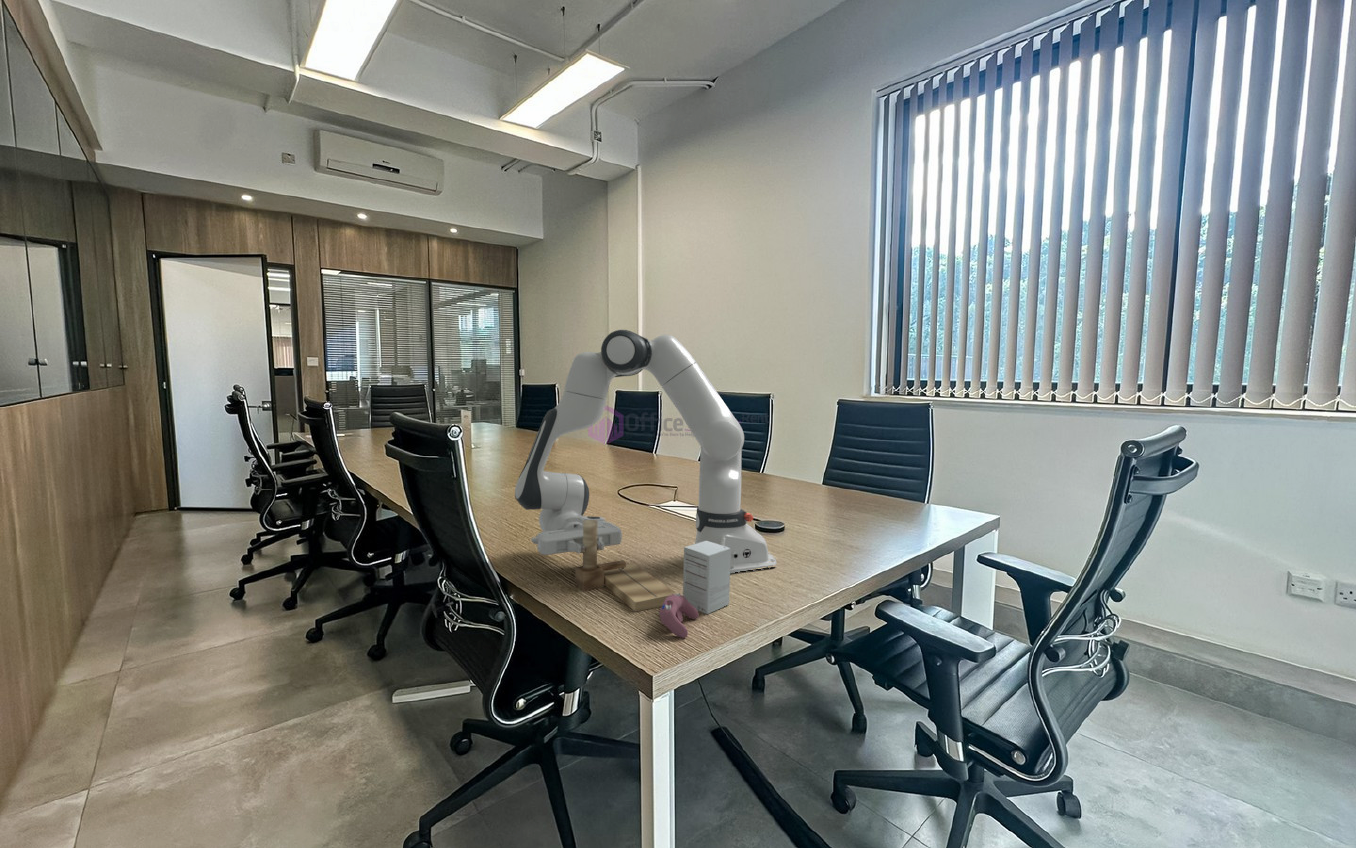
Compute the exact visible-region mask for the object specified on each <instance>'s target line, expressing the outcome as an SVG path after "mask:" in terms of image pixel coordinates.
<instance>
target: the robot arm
mask: <svg viewBox="0 0 1356 848" xmlns="http://www.w3.org/2000/svg"><path fill="white" fill-rule="evenodd" d="M643 370H645V371H648V372H650V374H651V375H652V376H653V377H654V378H655V379H656V381H657V382H658V384H659V385H660V387H661V388H662V389H663V391H664V393H666V395H667V397H668V398H669V399H670V401H671V403H672V404H673V405H674V407H675V408H676V410H677V412H678V413H679V414H680V416H681V417H682V419H683V420H684V422H685V424H686V425H687V427H688V429H689V430H690V432H691V433H692V435H693V436H694V438H695V440H696V441H697V443H698V444H699V446H700V454H699V460H700V461H699V477H698V479H699V480H698V481H699V482H698V507H697V508H696V513H695V528H696V535H695V542H694V544H697V543H700V542H703V541H709V542H712V543H716V544H719V545H722V546H726V547H728V548H731V557H730V574H735V572H738V573H741V572H740V571H746V570H751V569H756V568H762V567H768V566H773V565H776V564H777V560H776V557H774V556H773V555H772V553H770V552H769V551H768V550H769V549H768V544H767V540H766V539H765V538H764V536H762V535H761V534H760V533H759V532H758V531H756V529H754V528H753V527H751V526H750V525H749V524H748V523H751V522H752V521H753V520H754V515H753V514H751V513H750V512H747V511H746V510H744V509H742V508H741V506H742V505H741V504H742V503H741V502H742V501H741V500H742V452H743V451H742V450H743V446H744V443H745V434H744V431H743V428H742V426H741V424H740V423H739V420H737V418H735V416H734V414H733V413H732V412H731V410H730V409H729V407H728V406H727V404H726V403H725V402H724V400H723V399H722V397H721V396H720V394H719V392H718V391H717V390H716V388H715V387H714V385H713V384H712V383H711V381H710V379H709V378H708V376H707V375H706V373H704V371H703V370H702V368H701V366H700V365H699V364H698V362H697V361H696V360H695V358H694V356H693V355H692V354H691V352H689V350H688V349H687V348H686V347H685V345H683V344H682V343H681V342H680V341H679V340H678V339H677V338H676V337H675V336H674V335H671V334H663V335H659V336H657V337H655V338H653V339H652V340H649V339H648V338H646V337H644V336H641V335H640V334H638V333H636V332H634V331H631V330H628V329H618V330H614V331H611V332H610V333H609V334H607V336H606V337H605V338H604V339H603V342H602V344H601V347H600V352H593V351H584V352H580V353H579V354H577V355H576V356H575V357H574V358H573V361H572V363H571V365H570V369H569V371H568V374H567V377H566V381H565V384H564V385H565V386H564V390H563V394H562V397H561V399H559V400H560V401H559V402H558V404H557V405H556V406H555V407H554V408H552V409H549V410H548V411H547V412H546V414H545V415H544V417H543V419H542V421H541V424H540V426H539V429H538V431H537V432H536V436H535V438H534V440H533V444H532V446H531V449H530V451H529V454H528V457H527V459H526V462H525V464H524V467H523V469H522V471H521V473H520V474H519V477H518V478H517V481H516V484H515V488H514V489H515V490H514V498H515V500H516V501H517V503H518V504H519V505H520V506H521V507H522V508H524V510H528V511H529V510H530V511H531V510H541V511H540V513H539V514H538V524H539V527H540V529H541V532H539V533H538V534H537V535H536V536H535V537H531V539H530V540H531V542H532V543H533V544H535V545H536V546H537V550H538V552H539V554H540V555H542V556H543V555H544V556H549V555H550V556H551V555H555V554H562V553H573V552H574V553H577V554H583V553H584V552H585V550H584V549H585V545H583V521H585V520H596V521H597V522H598V523H597V552H598V551H604V549H605V547H611V546H618V545H620V544H621V543H622V539H623V535H622V533H623V532H622V529H621V528H620V527H618V526H617V525H616V524H613V523H612V522H610V521H606V519H605V517H603V516H588V515H587V516H586V515H584V514H585V512H586V511H587V508H588V505H589V502H590V488H589V485H588V484H587V482H586V479H585V478H584V477H583V476H582V475H580V474H575V473H566V472H555V471H554V472H553V471H545V467H546V464H547V462H548V458H549V457H550V454H551V452H552V451H551V450H552V448H553V445H554V444H555V442H556V441H557V439H559V438H560V437H561V436H563V435H566V434H569V433H572V432H576V431H581V430H585V429H587V428H590V427H592V426H593V425H595V424H596V423H598V422H599V420H601V418H602V416H603V415H604V411H605V409H606V408H605V406H606V403H607V402H606V401H607V397H608V392H609V388H610V384H611V382H612V380H613V379H614V378H620V377H631V376H636V375H637V374H639V373H641V372H642V371H643ZM747 522H748V523H747ZM772 561H773V562H772ZM776 566H777V565H776ZM746 572H747V571H746Z"/></svg>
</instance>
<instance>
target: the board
mask: <svg viewBox="0 0 1356 848" xmlns="http://www.w3.org/2000/svg"><path fill="white" fill-rule="evenodd" d="M604 587H606V588H607V589H609V591H611V592H612V593H613V594H614V595H615V596H616V597H617V598H619V599H620V600H621V601H622V602H623V603H625V604H626V605H627V606H628V607H629V608H630V609H631V610H633V611H634V612H635V613H637V612H641V611H645V610H650V609H655V608H661V607H662V606H663V602H664V600H665V599H666V598H667V597H668V596H670V595H672V594H678V593H677V592H676V591H674V589H671V588H670V587H669V586H667V585H666V584H665V583H663V582H661V581H660V580H659V579H657V578H656V577H654V576H653V575H651V574H650V573H648V572H647V571H646V570H644V569H643V568H641V567H639V566H638V565H637V564H636V563H634V562H628V563H627V562H626V567H624V569H621V568H618V569H612V570H607V571H604Z"/></svg>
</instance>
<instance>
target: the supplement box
mask: <svg viewBox="0 0 1356 848" xmlns="http://www.w3.org/2000/svg"><path fill="white" fill-rule="evenodd" d="M730 557H731V548H728V547H726V546H722V545H719V544H716V543H712V542H709V541H703V542H700V543H697V544H695V543H694V544H691V545H687V546H684V547H683V569H682V570H683V572H682V573H683V575H682V577H683V580H682V581H683V582H682V595H683V596H684V597H685V598H686V600H687V601H688V602H689V603H690V604H692V605H693V606H694V607H695V608H696V609H697V611H698V612H701V613H703V614H706V615H708V614H711V613H713V612H715V611H717V610H719V609H722V608H725V607H726V605H727V606H729V605H730V589H731V588H730V587H731V585H730V583H731V573H730ZM728 604H729V605H728ZM724 606H725V607H724Z"/></svg>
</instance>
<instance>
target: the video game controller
mask: <svg viewBox="0 0 1356 848" xmlns="http://www.w3.org/2000/svg"><path fill="white" fill-rule="evenodd" d="M658 613H659V618H660V621H661V623H662V624H663V625H664V626H666V627H667V629H668V630H669V631H670V632H671V633H672V634H674V635H675V636H677V637H679V638H681V639H686V638H687V637H688V633H689V631H688V629H687V627H686V626H685V625H684V624H683V623H682V622H683V620H684V618H683V615H684V616H686V617H687V618H689V619H693V620H697V619H698V618H699V611H698V610H697V609H696V608H695V607H694V606H693V605H692V604H690V603H689V602H688V601H687V600H686V598H685V597H684V596H683V594H681V593H680V592H679V593H677V594H672V595H670V596H668V597H667V598H666V599H665V600H664V602H663V606H661V607H659V612H658Z"/></svg>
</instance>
